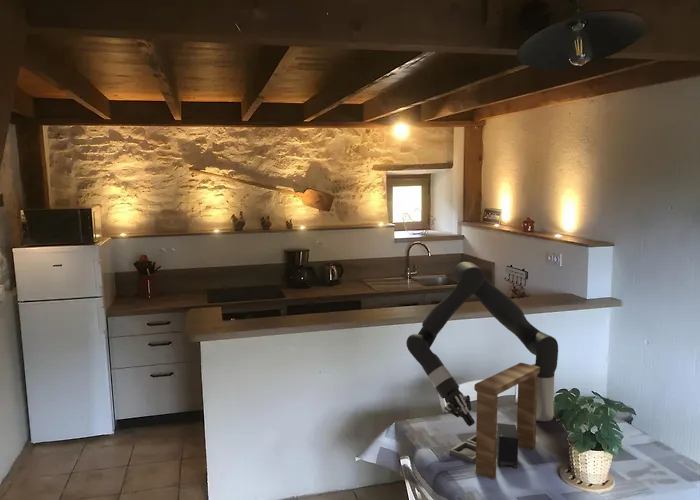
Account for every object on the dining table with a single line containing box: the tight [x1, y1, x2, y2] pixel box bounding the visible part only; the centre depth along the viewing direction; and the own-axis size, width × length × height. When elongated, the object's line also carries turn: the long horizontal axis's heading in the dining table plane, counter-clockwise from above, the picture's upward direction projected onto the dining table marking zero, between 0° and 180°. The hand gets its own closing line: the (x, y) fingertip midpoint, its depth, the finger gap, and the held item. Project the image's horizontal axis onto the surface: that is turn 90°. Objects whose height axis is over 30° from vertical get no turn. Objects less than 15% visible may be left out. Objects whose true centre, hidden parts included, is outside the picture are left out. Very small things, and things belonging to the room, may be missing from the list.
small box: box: [496, 422, 519, 469], centre depth 183 cm, size 11×6×10 cm, turn 168°
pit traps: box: [449, 434, 476, 464], centre depth 192 cm, size 19×9×2 cm, turn 135°
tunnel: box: [474, 362, 540, 480], centre depth 182 cm, size 29×7×29 cm, turn 135°
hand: (472, 424), depth 192 cm, fingers closed
